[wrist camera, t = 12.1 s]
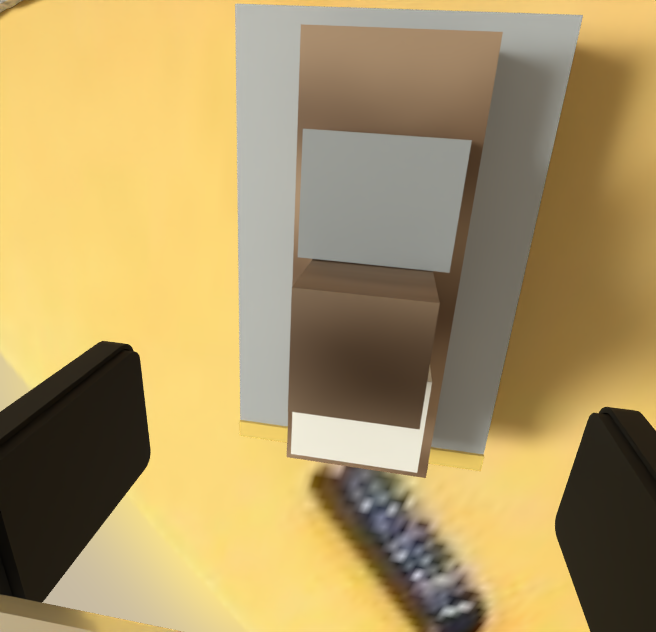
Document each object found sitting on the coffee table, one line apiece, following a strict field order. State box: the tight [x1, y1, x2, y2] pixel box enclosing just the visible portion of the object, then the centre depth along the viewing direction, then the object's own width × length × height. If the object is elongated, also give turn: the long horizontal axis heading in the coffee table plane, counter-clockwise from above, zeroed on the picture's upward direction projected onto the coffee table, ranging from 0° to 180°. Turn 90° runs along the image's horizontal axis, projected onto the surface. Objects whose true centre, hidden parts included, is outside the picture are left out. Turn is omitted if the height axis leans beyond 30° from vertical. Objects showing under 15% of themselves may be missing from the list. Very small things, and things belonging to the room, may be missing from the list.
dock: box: [235, 4, 583, 471], centre depth 25 cm, size 22×14×5 cm, turn 177°
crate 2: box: [291, 367, 432, 473], centre depth 19 cm, size 4×5×4 cm
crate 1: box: [298, 129, 472, 273], centre depth 16 cm, size 4×5×4 cm
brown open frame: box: [287, 24, 503, 478], centre depth 18 cm, size 19×7×10 cm, turn 177°
